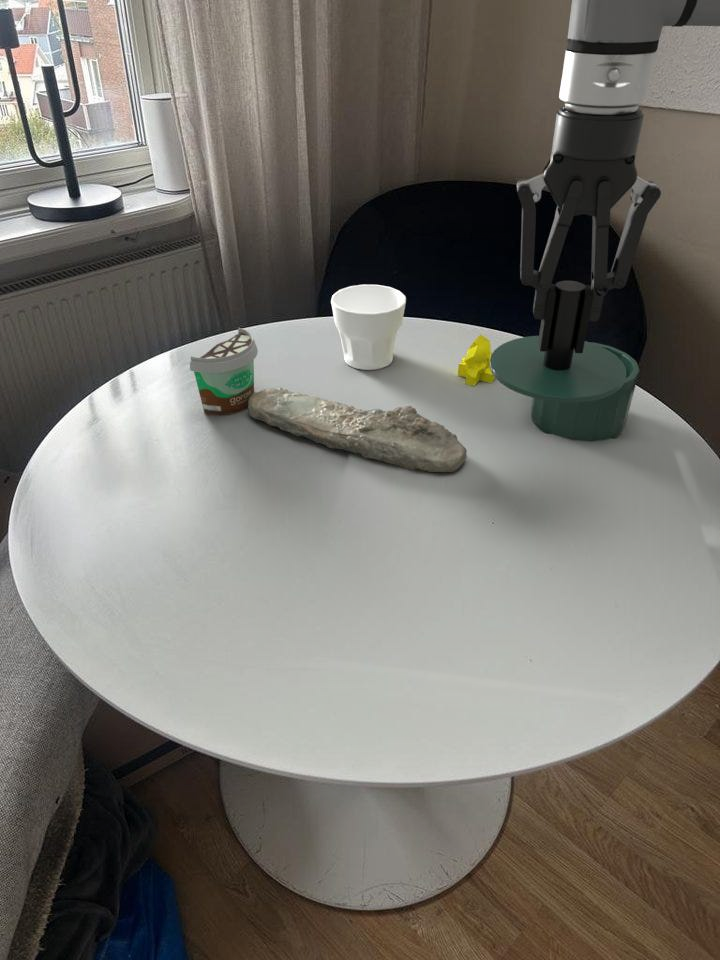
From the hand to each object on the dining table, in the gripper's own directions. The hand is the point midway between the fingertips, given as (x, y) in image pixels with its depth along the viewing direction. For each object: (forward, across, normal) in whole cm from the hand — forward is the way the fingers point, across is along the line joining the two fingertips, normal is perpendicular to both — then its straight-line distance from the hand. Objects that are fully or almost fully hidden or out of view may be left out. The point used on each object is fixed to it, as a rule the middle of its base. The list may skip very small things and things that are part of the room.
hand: (560, 346), depth 77 cm
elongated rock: (+22, -25, +12) cm, 36 cm away
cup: (+22, -26, +37) cm, 51 cm away
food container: (+22, -44, +20) cm, 53 cm away
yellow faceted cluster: (+22, -7, +34) cm, 41 cm away
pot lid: (+3, 0, 0) cm, 3 cm away
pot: (+22, +8, +22) cm, 32 cm away
